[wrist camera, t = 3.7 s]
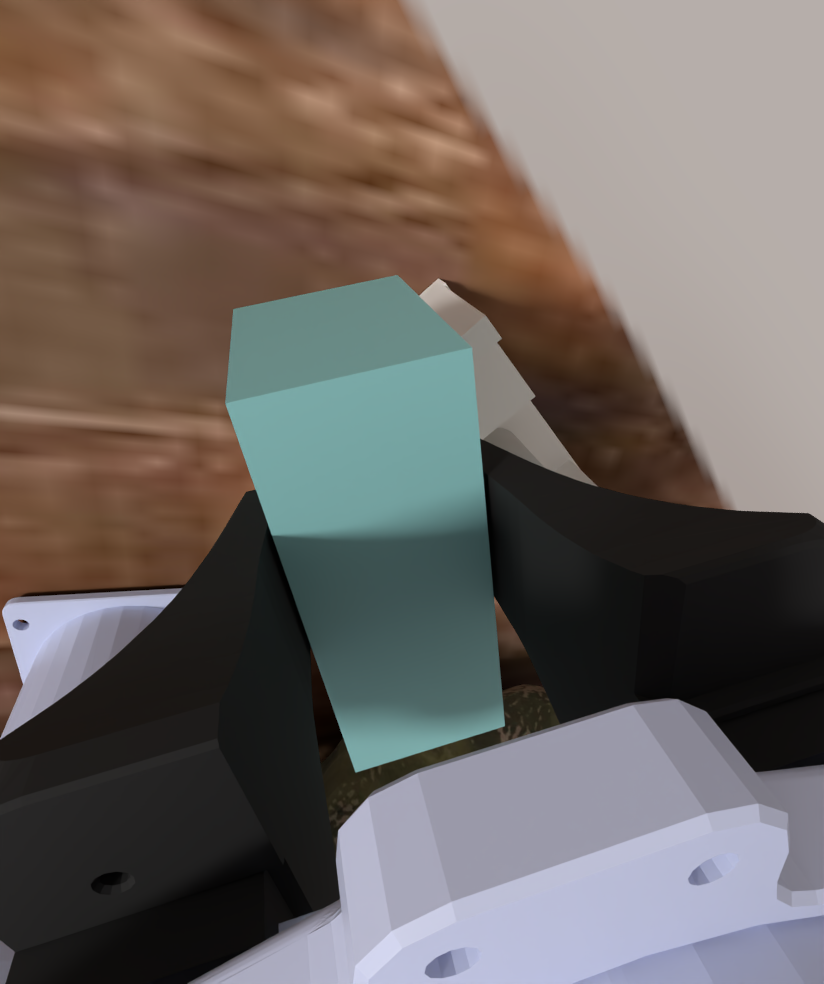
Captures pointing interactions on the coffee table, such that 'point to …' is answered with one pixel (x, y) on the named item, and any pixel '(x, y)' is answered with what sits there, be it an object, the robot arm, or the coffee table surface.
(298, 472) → the teal block
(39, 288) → the coffee table surface
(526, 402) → the stand
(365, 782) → the decorative rock
